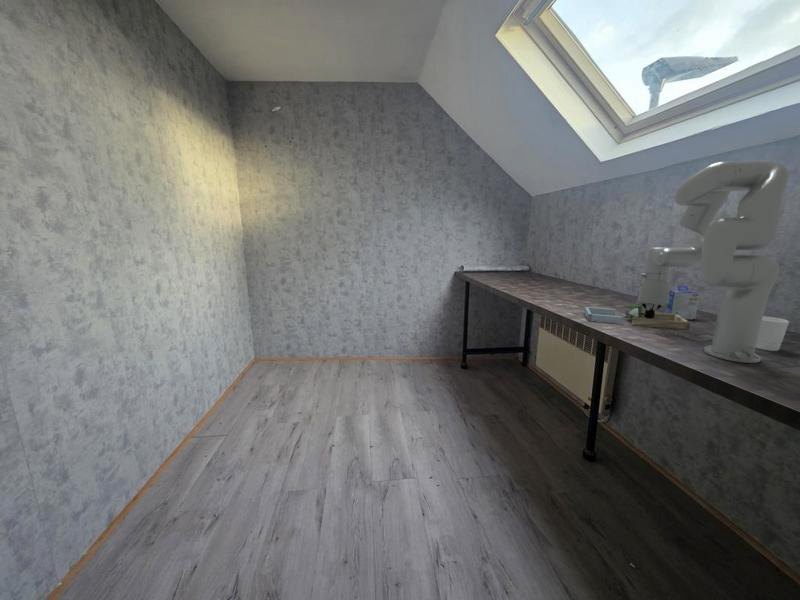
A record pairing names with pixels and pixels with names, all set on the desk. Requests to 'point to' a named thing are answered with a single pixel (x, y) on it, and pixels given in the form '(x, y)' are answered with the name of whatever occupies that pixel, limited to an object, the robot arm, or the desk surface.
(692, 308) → the ink cartridge box
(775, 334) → the white cup
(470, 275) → the desk surface
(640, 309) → the geometric puzzle
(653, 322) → the wooden tray
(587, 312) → the bay
